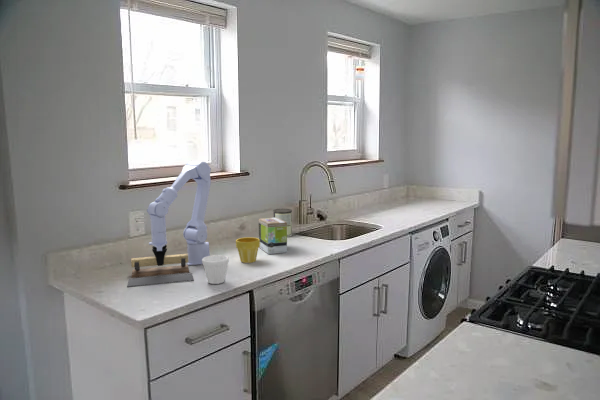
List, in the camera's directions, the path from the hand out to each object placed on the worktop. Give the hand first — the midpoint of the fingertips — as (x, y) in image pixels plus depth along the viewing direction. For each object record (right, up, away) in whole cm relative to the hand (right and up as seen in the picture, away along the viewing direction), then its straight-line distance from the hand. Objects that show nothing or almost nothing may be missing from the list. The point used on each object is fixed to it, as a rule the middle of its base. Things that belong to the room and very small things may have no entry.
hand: (160, 264), depth 188 cm
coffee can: (+47, +6, +67) cm, 83 cm away
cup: (+25, -5, -13) cm, 29 cm away
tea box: (+44, +2, +35) cm, 56 cm away
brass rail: (0, 0, 0) cm, 0 cm away
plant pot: (+34, -1, +16) cm, 37 cm away
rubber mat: (+3, -5, -10) cm, 12 cm away
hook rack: (0, -3, 0) cm, 3 cm away
